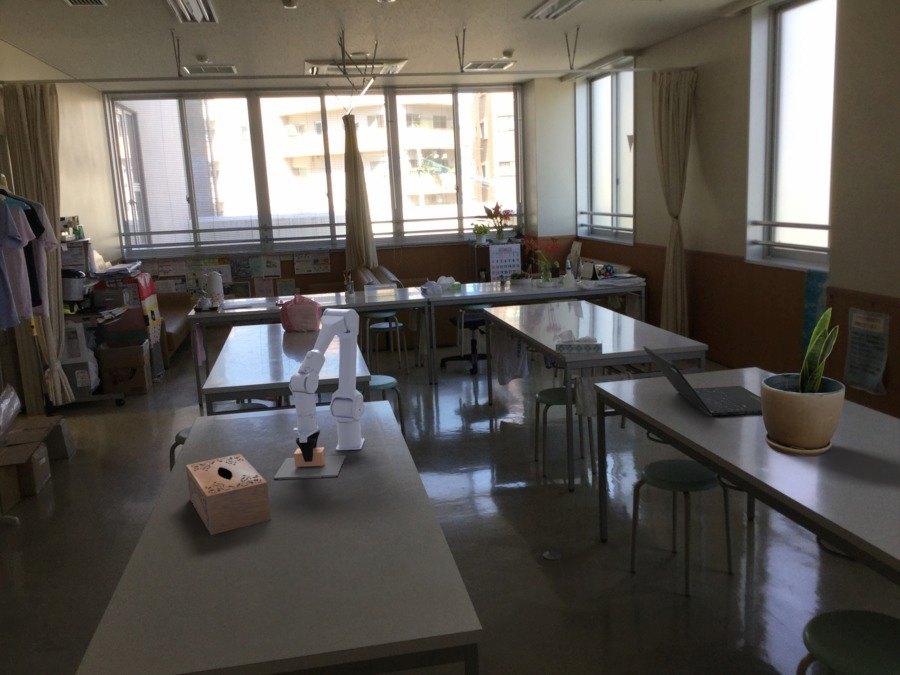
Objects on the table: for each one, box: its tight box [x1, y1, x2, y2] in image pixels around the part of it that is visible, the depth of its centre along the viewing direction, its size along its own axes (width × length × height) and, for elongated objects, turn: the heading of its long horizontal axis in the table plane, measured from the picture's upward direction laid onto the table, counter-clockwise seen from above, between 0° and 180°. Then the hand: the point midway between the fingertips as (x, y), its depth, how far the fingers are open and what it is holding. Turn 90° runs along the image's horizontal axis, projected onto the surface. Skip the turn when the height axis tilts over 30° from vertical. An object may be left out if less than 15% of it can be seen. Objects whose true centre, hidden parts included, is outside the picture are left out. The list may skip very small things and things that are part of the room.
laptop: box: [642, 345, 762, 417], centre depth 257 cm, size 33×38×19 cm
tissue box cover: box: [185, 453, 272, 536], centre depth 187 cm, size 26×14×10 cm, turn 30°
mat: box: [273, 455, 347, 480], centre depth 214 cm, size 16×18×1 cm
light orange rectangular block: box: [293, 446, 326, 467], centre depth 214 cm, size 8×4×4 cm, turn 90°
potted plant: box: [760, 307, 846, 457], centre depth 208 cm, size 21×22×40 cm
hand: (310, 458), depth 214 cm, fingers closed on light orange rectangular block, 4 cm apart
